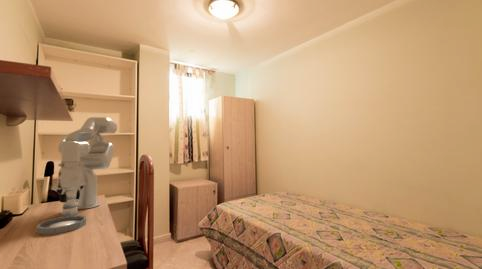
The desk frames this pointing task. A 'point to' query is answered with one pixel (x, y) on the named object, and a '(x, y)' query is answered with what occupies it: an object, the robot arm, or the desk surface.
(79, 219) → the round tray
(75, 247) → the desk surface
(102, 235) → the desk surface
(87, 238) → the desk surface
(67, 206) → the plastic bottle
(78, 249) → the desk surface
